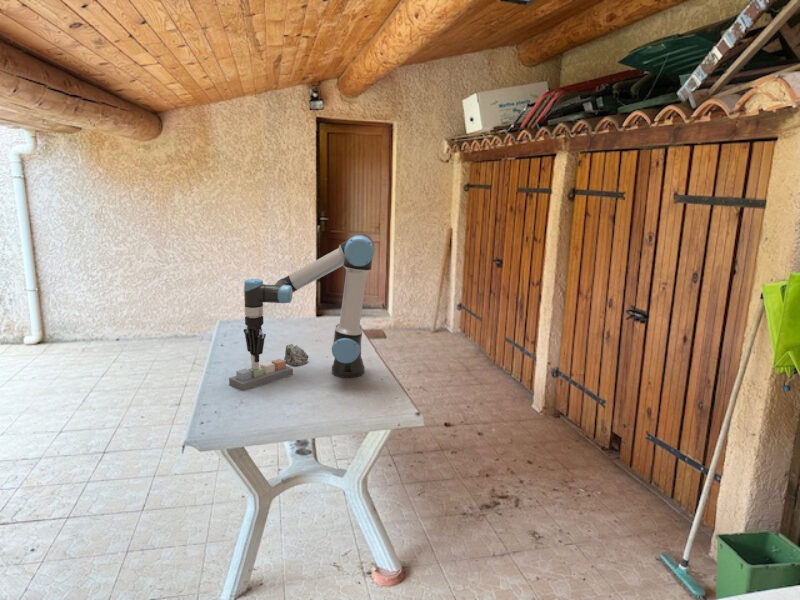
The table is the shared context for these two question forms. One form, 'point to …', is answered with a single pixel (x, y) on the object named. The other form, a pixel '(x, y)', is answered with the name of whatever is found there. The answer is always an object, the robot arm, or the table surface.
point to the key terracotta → (279, 364)
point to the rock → (295, 355)
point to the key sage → (256, 372)
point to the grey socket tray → (260, 379)
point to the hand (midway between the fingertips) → (255, 368)
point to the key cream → (268, 367)
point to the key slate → (243, 375)
